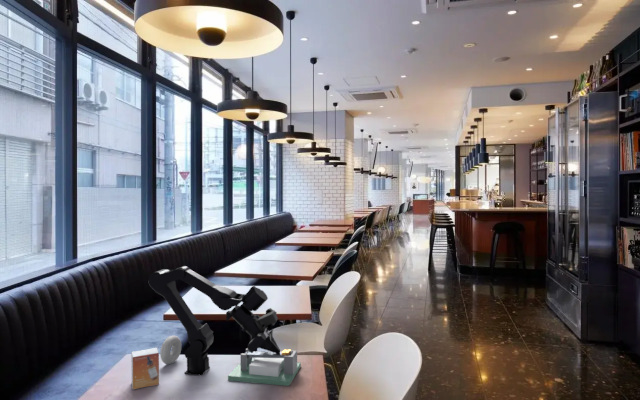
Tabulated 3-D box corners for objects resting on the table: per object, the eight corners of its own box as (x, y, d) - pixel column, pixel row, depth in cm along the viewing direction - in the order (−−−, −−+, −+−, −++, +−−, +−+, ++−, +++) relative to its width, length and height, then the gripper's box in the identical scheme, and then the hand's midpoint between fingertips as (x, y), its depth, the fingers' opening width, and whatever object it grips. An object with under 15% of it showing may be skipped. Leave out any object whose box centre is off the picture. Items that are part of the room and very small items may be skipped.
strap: (242, 358, 141) (242, 352, 141) (246, 354, 144) (245, 349, 144) (289, 358, 137) (289, 352, 137) (291, 355, 140) (291, 349, 140)
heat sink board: (227, 380, 136) (227, 357, 136) (245, 362, 150) (245, 341, 150) (288, 385, 131) (288, 362, 131) (300, 366, 146) (300, 345, 146)
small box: (132, 390, 129) (131, 357, 129) (131, 383, 134) (131, 351, 134) (159, 384, 133) (159, 352, 133) (157, 377, 138) (157, 346, 138)
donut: (166, 369, 144) (166, 341, 144) (158, 368, 145) (157, 340, 145) (183, 358, 154) (183, 332, 154) (175, 357, 155) (175, 331, 155)
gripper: (256, 311, 131) (291, 346, 130) (269, 296, 149) (299, 327, 149) (233, 335, 132) (267, 370, 131) (248, 317, 150) (278, 348, 149)
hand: (279, 352), depth 140 cm, fingers closed, pressing on strap
